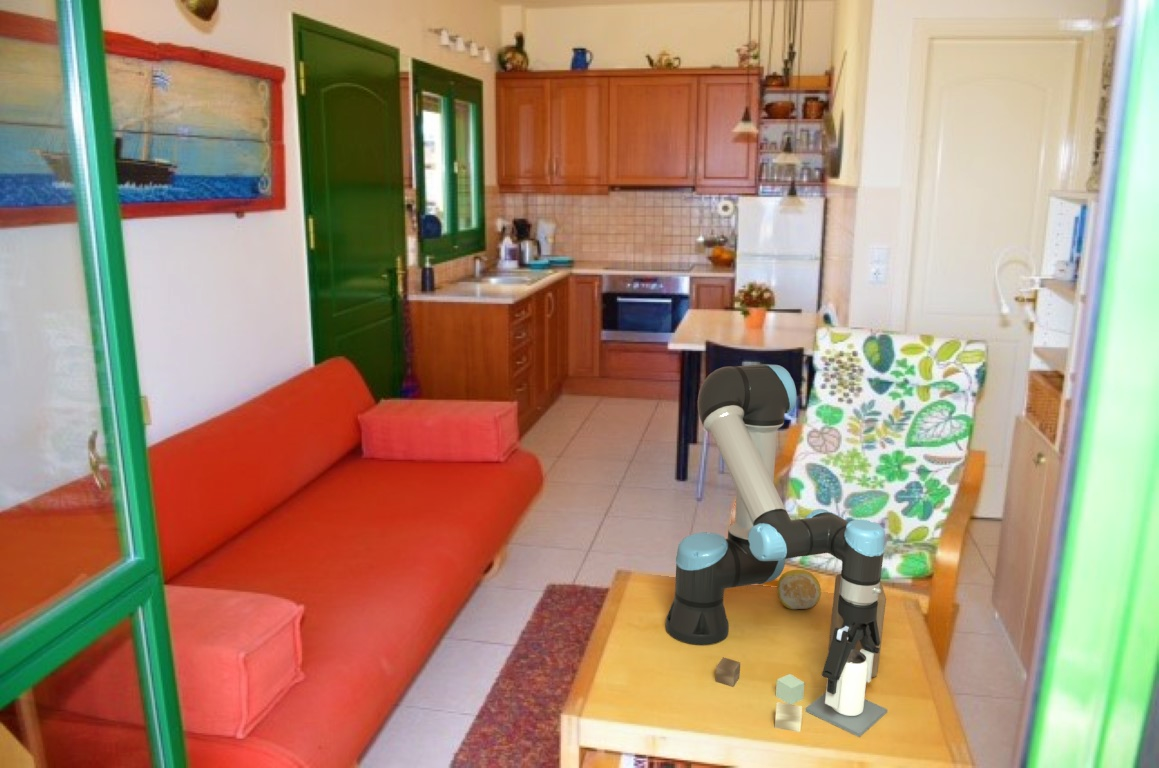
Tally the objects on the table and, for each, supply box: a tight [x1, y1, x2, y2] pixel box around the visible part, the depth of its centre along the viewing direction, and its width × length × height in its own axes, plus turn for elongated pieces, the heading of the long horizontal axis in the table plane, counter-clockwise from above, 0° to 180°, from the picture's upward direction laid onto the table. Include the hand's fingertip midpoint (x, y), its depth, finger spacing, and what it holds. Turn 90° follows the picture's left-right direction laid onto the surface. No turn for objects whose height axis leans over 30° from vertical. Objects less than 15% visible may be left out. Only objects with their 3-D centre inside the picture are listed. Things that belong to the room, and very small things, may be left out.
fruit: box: [776, 569, 822, 610], centre depth 225 cm, size 10×11×10 cm
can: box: [832, 649, 867, 717], centre depth 180 cm, size 6×6×12 cm
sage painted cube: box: [775, 673, 805, 705], centre depth 186 cm, size 4×4×4 cm
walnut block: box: [715, 657, 741, 688], centre depth 192 cm, size 4×4×4 cm
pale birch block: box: [774, 701, 803, 733], centre depth 176 cm, size 5×3×4 cm, turn 76°
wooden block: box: [827, 573, 887, 678], centre depth 198 cm, size 10×10×20 cm
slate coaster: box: [805, 691, 888, 738], centre depth 182 cm, size 12×12×1 cm
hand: (848, 692), depth 181 cm, fingers open, 13 cm apart
